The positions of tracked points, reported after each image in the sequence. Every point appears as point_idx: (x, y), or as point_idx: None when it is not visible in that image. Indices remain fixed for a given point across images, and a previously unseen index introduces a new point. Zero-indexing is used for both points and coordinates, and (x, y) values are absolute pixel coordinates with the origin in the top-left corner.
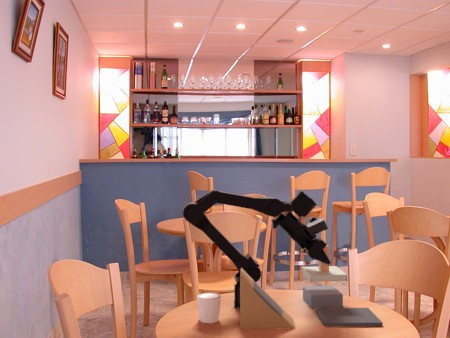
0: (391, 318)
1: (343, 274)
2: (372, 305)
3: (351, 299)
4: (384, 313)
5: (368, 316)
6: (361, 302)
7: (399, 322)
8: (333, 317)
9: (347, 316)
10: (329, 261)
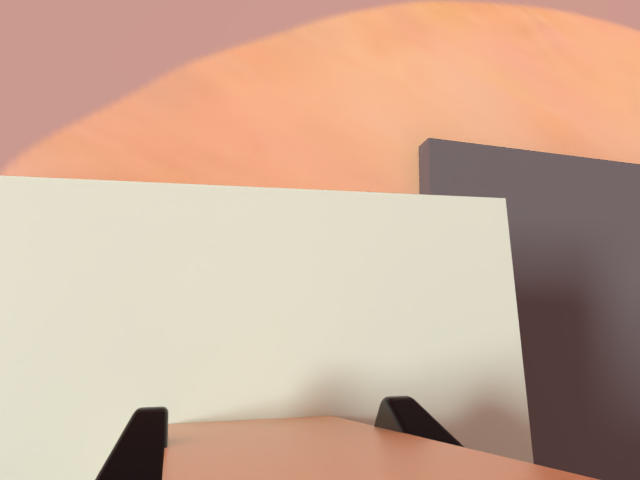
0: (550, 69)
1: (499, 245)
2: (297, 62)
3: (124, 153)
4: (464, 64)
5: (601, 209)
6: (217, 108)
7: (609, 59)
8: (637, 461)
9: (612, 352)
10: (432, 431)
